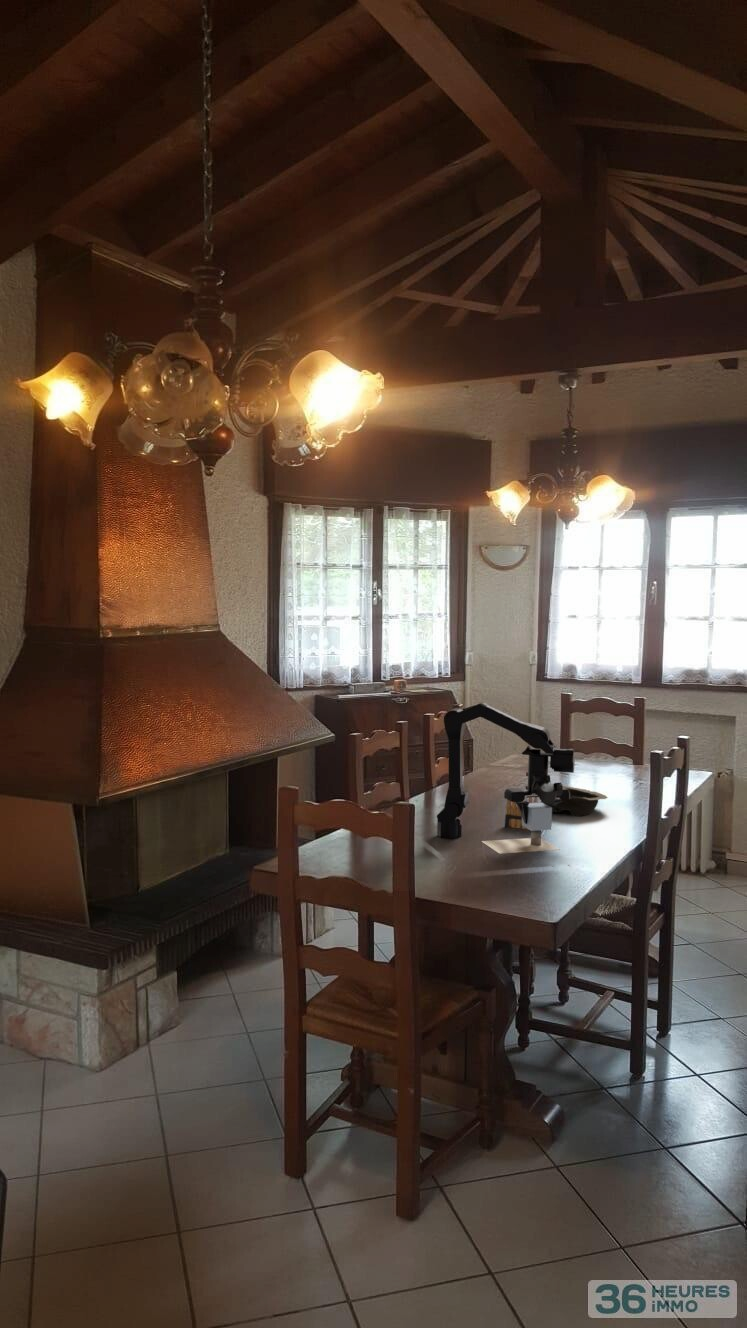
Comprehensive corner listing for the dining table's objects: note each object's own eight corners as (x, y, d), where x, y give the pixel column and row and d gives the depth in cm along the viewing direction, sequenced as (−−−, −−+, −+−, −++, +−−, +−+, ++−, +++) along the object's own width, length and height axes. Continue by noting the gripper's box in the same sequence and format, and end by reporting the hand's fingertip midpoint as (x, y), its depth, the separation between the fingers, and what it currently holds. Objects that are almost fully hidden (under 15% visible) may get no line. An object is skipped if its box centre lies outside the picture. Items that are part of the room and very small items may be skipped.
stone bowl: (524, 813, 306) (525, 786, 306) (545, 804, 329) (546, 778, 328) (596, 821, 295) (598, 793, 295) (614, 811, 317) (615, 785, 317)
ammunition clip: (538, 833, 281) (539, 795, 280) (536, 834, 280) (537, 796, 279) (506, 828, 287) (507, 791, 286) (504, 829, 285) (505, 792, 284)
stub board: (499, 857, 254) (499, 839, 254) (481, 845, 267) (481, 827, 266) (560, 853, 260) (560, 835, 259) (539, 841, 272) (540, 824, 272)
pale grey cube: (531, 830, 260) (531, 808, 260) (521, 825, 266) (522, 803, 266) (551, 829, 262) (552, 807, 262) (541, 824, 268) (541, 802, 268)
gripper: (520, 777, 253) (519, 831, 254) (580, 774, 258) (578, 828, 259) (504, 769, 263) (502, 822, 264) (561, 767, 269) (559, 818, 270)
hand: (536, 823), depth 264 cm, fingers closed on pale grey cube, 6 cm apart
